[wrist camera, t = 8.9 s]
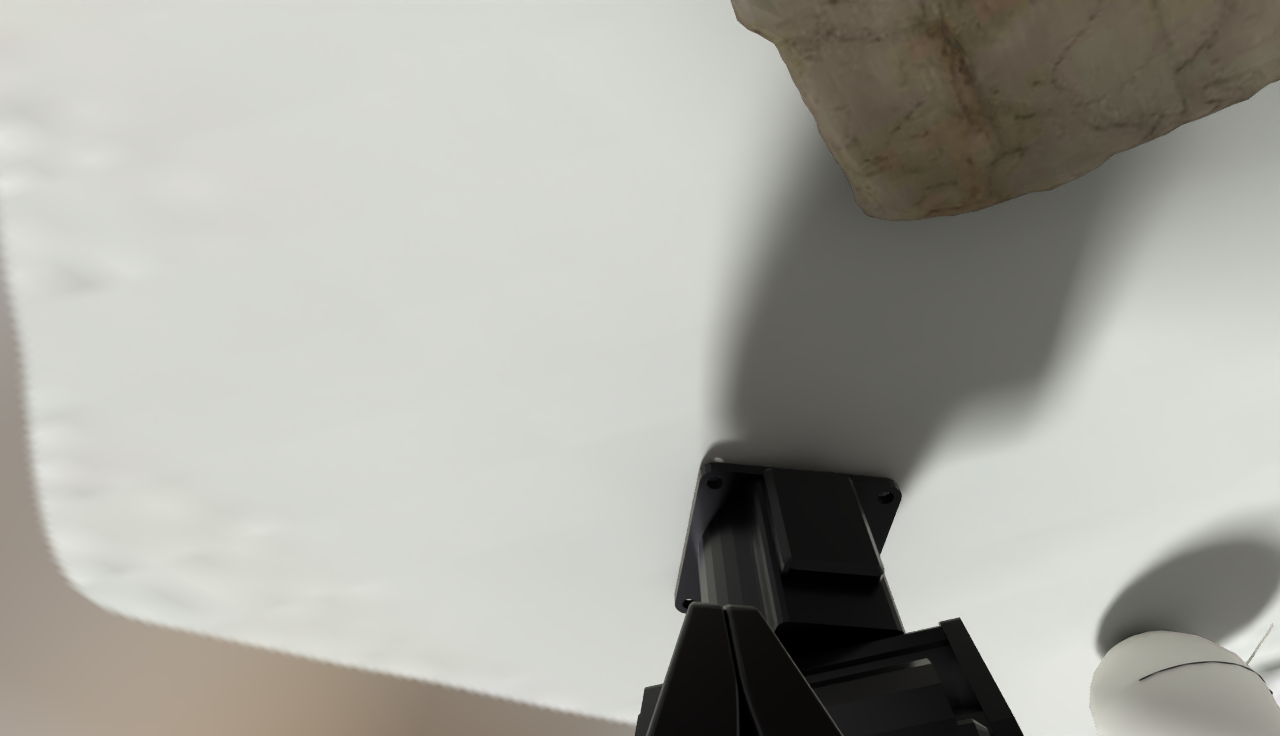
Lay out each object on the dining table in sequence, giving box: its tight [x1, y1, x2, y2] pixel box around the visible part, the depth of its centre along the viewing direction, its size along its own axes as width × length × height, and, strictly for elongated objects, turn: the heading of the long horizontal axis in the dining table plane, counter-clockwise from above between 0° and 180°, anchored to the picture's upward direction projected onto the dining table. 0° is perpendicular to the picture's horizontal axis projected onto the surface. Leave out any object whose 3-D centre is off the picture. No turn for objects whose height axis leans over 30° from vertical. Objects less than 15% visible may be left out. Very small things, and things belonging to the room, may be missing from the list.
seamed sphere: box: [1089, 623, 1280, 736], centre depth 27 cm, size 8×6×6 cm
